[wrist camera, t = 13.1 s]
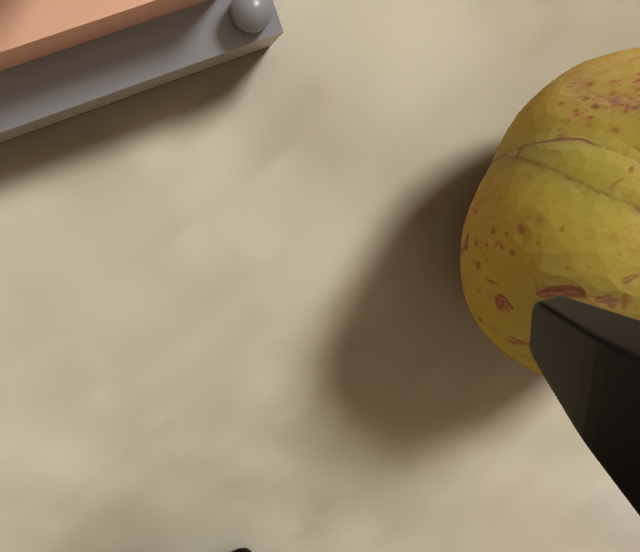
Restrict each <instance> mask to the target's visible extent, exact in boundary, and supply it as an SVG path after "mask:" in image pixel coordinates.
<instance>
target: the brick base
mask: <svg viewBox="0 0 640 552" xmlns="http://www.w3.org/2000/svg"><path fill="white" fill-rule="evenodd" d="M282 33H283V30H282V27H281V24H280V21H279V18H278V15H277V12H276V9H275V6H274V4H273V1H272V0H0V143H1V142H4V141H6V140H9V139H12V138H15V137H18V136H20V135H23V134H26V133H29V132H32V131H34V130H37V129H40V128H43V127H45V126H48V125H51V124H54V123H57V122H59V121H62V120H65V119H68V118H71V117H73V116H76V115H79V114H82V113H85V112H87V111H90V110H93V109H96V108H98V107H101V106H104V105H107V104H110V103H112V102H115V101H118V100H121V99H124V98H126V97H129V96H132V95H135V94H137V93H140V92H143V91H146V90H149V89H151V88H154V87H157V86H160V85H163V84H165V83H168V82H171V81H174V80H177V79H179V78H182V77H185V76H188V75H190V74H193V73H196V72H199V71H202V70H204V69H207V68H210V67H213V66H216V65H218V64H221V63H224V62H227V61H230V60H232V59H235V58H238V57H241V56H243V55H246V54H249V53H252V52H255V51H257V50H260V49H263V48H266V47H269V46H271V45H272V44H273V43H274V42H275V41H276V39H277V38H278V37H279V36H280V35H281V34H282Z"/></svg>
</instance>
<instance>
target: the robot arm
mask: <svg viewBox="0 0 640 552" xmlns="http://www.w3.org/2000/svg"><path fill="white" fill-rule="evenodd" d="M529 345H530V351H531V354H532V356H533V359H534V360H535V362H536V364H537V365H538V367H539V369H540V370H541V372H542V374H543V375H544V377H545V379H546V380H547V382H548V384H549V385H550V387H551V389H552V390H553V392H554V394H555V395H556V397H557V399H558V400H559V402H560V404H561V405H562V407H563V409H564V410H565V412H566V414H567V415H568V417H569V419H570V420H571V422H572V424H573V425H574V427H575V428H576V430H577V432H578V433H579V435H580V436H581V438H582V439H583V441H584V442H585V443H586V445H587V446H588V448H589V449H590V450H591V452H592V453H593V454H594V456H595V457H596V458H597V460H598V461H599V462H600V464H601V465H602V466H603V468H604V469H605V470H606V472H607V473H608V474H609V476H610V477H611V478H612V480H613V481H614V482H615V484H616V485H617V486H618V488H619V489H620V490H621V492H622V493H623V494H624V496H625V497H626V498H627V499H628V501H629V502H630V503H631V505H632V506H633V507H634V509H635V510H636V511H637V513H638V514H639V515H640V320H637V319H634V318H630V317H627V316H624V315H621V314H618V313H615V312H612V311H608V310H605V309H602V308H599V307H596V306H593V305H589V304H586V303H583V302H580V301H577V300H574V299H570V298H567V297H564V296H554V297H550V298H546V299H543V300H539V301H537V302H536V303H535V304H534V305H533V307H532V314H531V327H530V341H529ZM233 552H251V550H249V549H247V548H241V549H237V550H235V551H233Z"/></svg>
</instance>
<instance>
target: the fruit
mask: <svg viewBox="0 0 640 552" xmlns="http://www.w3.org/2000/svg"><path fill="white" fill-rule="evenodd" d="M460 274H461V280H462V286H463V292H464V296H465V299H466V303H467V305H468V307H469V309H470V312H471V314H472V316H473V318H474V319H475V321H476V322H477V324H478V325H479V327H480V329H481V330H482V331H483V333H484V334H485V335H486V336H487V337H488V338H489V340H490V341H492V342H493V343H494V344H495V345H496V346H497V347H498V348H499V349H500V350H502V351H503V352H504V353H505V354H507V355H508V356H509V357H510V358H512V359H514V360H515V361H517V362H518V363H520V364H522V365H523V366H525V367H526V368H528V369H530V370H532V371H534V372H536V373H538V374H541V375H543V374H542V372H541V370H540V369H539V367H538V365H537V364H536V362H535V360H534V359H533V356H532V354H531V351H530V345H529V341H530V327H531V314H532V307H533V305H534V304H535V303H536V302H537V301H539V300H543V299H546V298H550V297H554V296H564V297H567V298H570V299H574V300H577V301H580V302H583V303H586V304H589V305H593V306H596V307H599V308H602V309H605V310H608V311H612V312H615V313H618V314H621V315H624V316H627V317H630V318H634V319H637V320H640V47H638V48H632V49H626V50H622V51H618V52H614V53H610V54H607V55H603V56H600V57H597V58H594V59H591V60H588V61H585V62H583V63H581V64H579V65H577V66H575V67H573V68H571V69H570V70H568V71H567V72H565V73H563V74H562V75H560V76H559V77H558V78H556V79H555V80H554V81H552V82H551V83H550V84H548V85H547V86H546V87H544V88H543V89H542V90H541V91H540V92H539V93H538V94H537V95H536V96H535V97H533V98H532V99H531V100H530V101H529V102H528V103H527V105H526V106H525V107H524V108H523V109H522V110H521V111H520V112H519V113H518V115H517V116H516V118H515V119H514V121H513V122H512V124H511V125H510V127H509V128H508V130H507V132H506V134H505V135H504V137H503V139H502V141H501V143H500V144H499V146H498V149H497V151H496V153H495V155H494V158H493V160H492V163H491V165H490V166H489V168H488V170H487V172H486V174H485V176H484V178H483V179H482V181H481V183H480V184H479V187H478V189H477V191H476V193H475V196H474V198H473V200H472V203H471V205H470V208H469V211H468V214H467V217H466V220H465V223H464V226H463V231H462V237H461V254H460ZM543 376H544V375H543Z"/></svg>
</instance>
